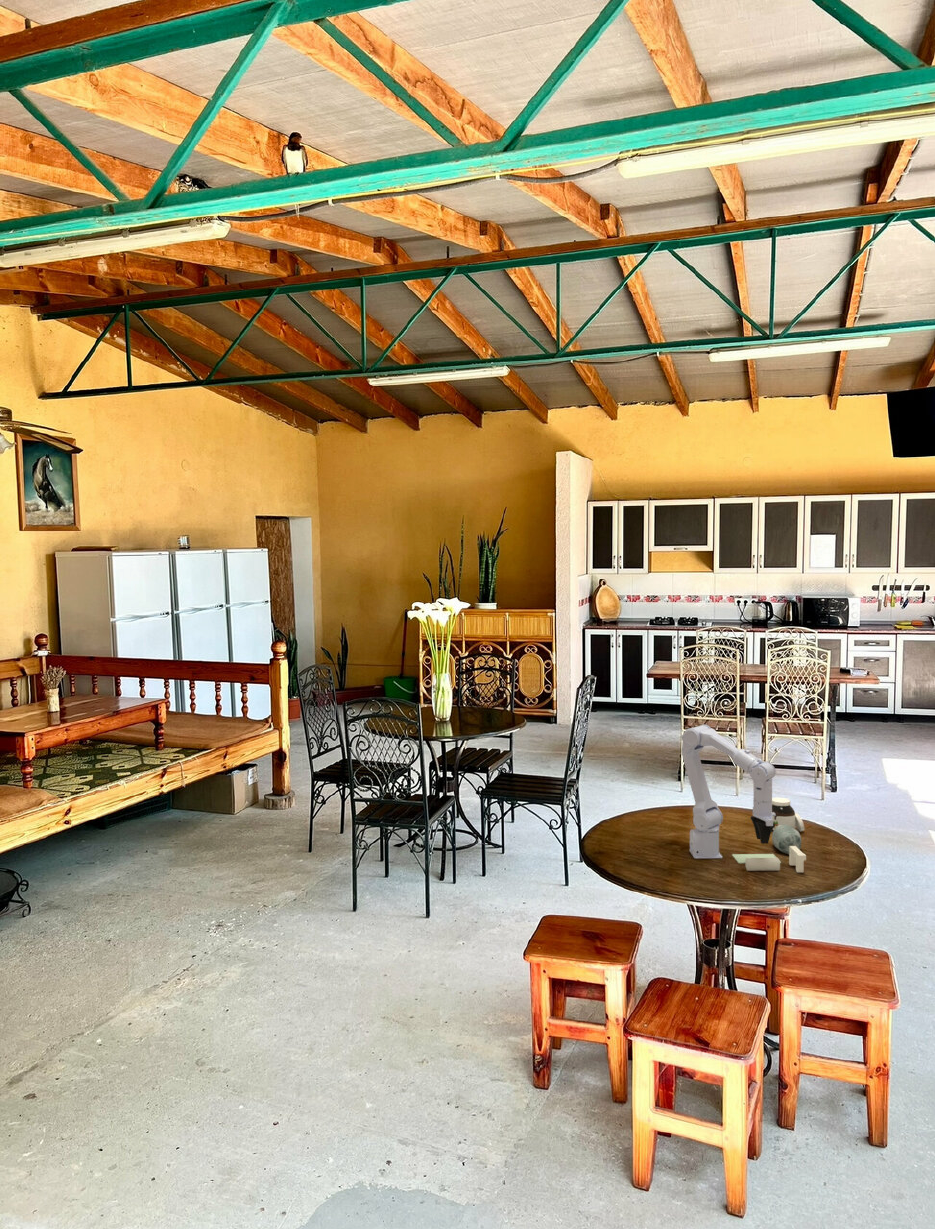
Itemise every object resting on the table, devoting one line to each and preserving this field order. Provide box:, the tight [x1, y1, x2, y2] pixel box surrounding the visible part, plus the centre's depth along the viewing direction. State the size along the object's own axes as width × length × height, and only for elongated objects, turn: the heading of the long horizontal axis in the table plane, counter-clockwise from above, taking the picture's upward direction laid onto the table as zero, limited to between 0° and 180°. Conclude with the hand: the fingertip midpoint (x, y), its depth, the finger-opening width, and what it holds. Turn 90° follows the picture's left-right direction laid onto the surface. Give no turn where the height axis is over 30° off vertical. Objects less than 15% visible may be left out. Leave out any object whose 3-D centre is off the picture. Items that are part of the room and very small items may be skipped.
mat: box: [731, 853, 782, 864], centre depth 292 cm, size 14×8×1 cm, turn 89°
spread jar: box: [771, 796, 806, 833], centre depth 320 cm, size 12×11×12 cm
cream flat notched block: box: [788, 846, 807, 873], centre depth 281 cm, size 2×9×6 cm, turn 179°
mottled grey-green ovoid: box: [771, 825, 802, 855], centre depth 300 cm, size 14×10×10 cm
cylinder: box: [744, 857, 781, 872], centre depth 282 cm, size 10×4×4 cm, turn 89°
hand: (762, 841), depth 282 cm, fingers open, 4 cm apart
